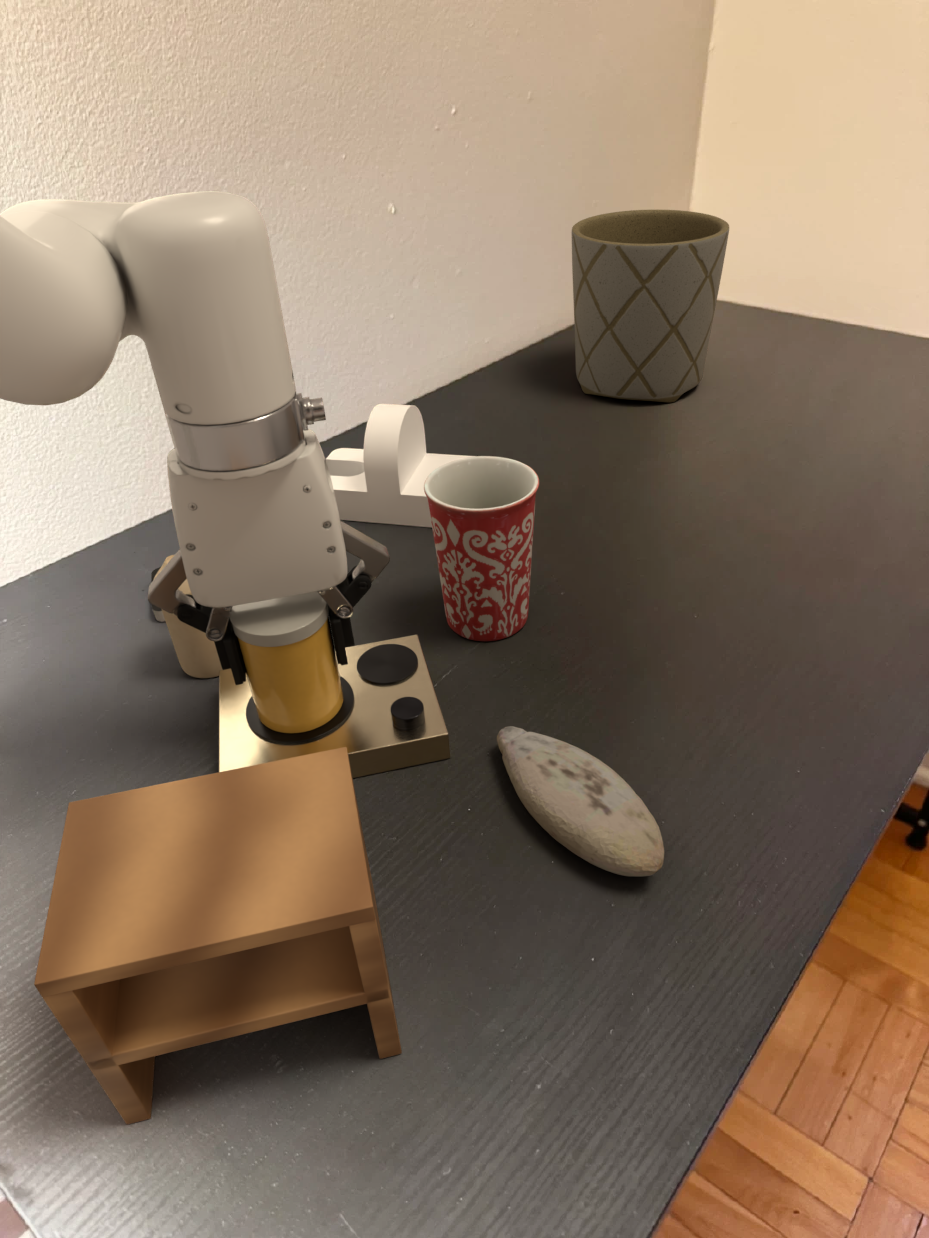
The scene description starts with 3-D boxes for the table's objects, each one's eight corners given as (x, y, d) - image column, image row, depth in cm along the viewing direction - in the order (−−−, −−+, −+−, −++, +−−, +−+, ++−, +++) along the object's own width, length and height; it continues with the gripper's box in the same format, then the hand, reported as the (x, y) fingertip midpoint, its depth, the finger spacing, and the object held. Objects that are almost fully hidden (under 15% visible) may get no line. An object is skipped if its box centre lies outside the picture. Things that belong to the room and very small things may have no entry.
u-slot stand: (470, 530, 86) (465, 432, 80) (308, 517, 90) (290, 422, 84) (491, 486, 94) (487, 393, 87) (339, 476, 98) (326, 386, 91)
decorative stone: (532, 728, 63) (532, 694, 61) (694, 860, 53) (700, 824, 51) (467, 767, 60) (465, 733, 58) (625, 914, 50) (629, 879, 48)
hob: (226, 804, 59) (214, 767, 56) (225, 693, 68) (215, 658, 66) (450, 758, 61) (447, 721, 59) (420, 657, 70) (416, 622, 68)
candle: (167, 673, 70) (133, 574, 64) (202, 634, 75) (173, 537, 69) (225, 683, 69) (195, 583, 63) (258, 643, 73) (233, 545, 67)
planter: (590, 353, 126) (595, 207, 114) (720, 364, 119) (740, 211, 108) (550, 401, 112) (551, 241, 100) (695, 417, 106) (715, 248, 94)
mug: (508, 661, 69) (504, 519, 61) (416, 631, 73) (401, 493, 65) (573, 584, 78) (577, 450, 70) (487, 560, 82) (482, 431, 74)
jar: (257, 742, 59) (229, 643, 54) (254, 683, 65) (228, 587, 59) (349, 724, 60) (331, 624, 55) (339, 667, 66) (322, 571, 60)
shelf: (126, 1125, 42) (33, 984, 34) (141, 948, 50) (68, 801, 42) (402, 1053, 44) (373, 906, 36) (374, 895, 52) (346, 746, 44)
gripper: (374, 386, 54) (401, 611, 64) (92, 425, 51) (169, 653, 62) (393, 433, 48) (419, 672, 59) (75, 480, 45) (164, 721, 56)
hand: (291, 661), depth 60 cm, fingers closed on jar, 6 cm apart
